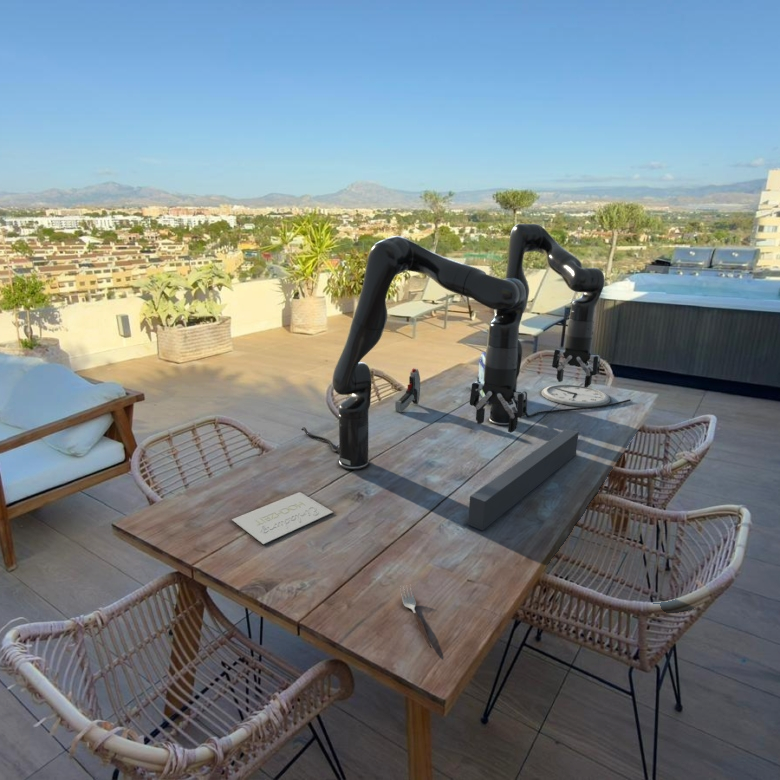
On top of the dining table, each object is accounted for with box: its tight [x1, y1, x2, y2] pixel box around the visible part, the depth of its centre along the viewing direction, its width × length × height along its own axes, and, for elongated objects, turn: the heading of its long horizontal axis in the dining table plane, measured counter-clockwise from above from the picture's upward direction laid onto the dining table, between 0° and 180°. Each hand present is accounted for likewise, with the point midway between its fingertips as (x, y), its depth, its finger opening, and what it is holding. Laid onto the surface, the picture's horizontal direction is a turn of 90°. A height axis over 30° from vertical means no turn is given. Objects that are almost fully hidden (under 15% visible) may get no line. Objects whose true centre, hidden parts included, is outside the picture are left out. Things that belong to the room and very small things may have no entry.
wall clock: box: [541, 384, 611, 408], centre depth 239 cm, size 30×2×30 cm
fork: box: [399, 584, 432, 649], centre depth 101 cm, size 3×16×2 cm, turn 16°
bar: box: [467, 428, 580, 532], centre depth 155 cm, size 62×4×8 cm, turn 140°
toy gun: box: [394, 367, 421, 413], centre depth 218 cm, size 2×16×15 cm
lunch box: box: [476, 351, 491, 406], centre depth 230 cm, size 26×11×21 cm, turn 179°
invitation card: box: [231, 491, 334, 545], centre depth 137 cm, size 21×1×15 cm
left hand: (495, 427), depth 129 cm, fingers open, 8 cm apart
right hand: (573, 384), depth 167 cm, fingers open, 8 cm apart
